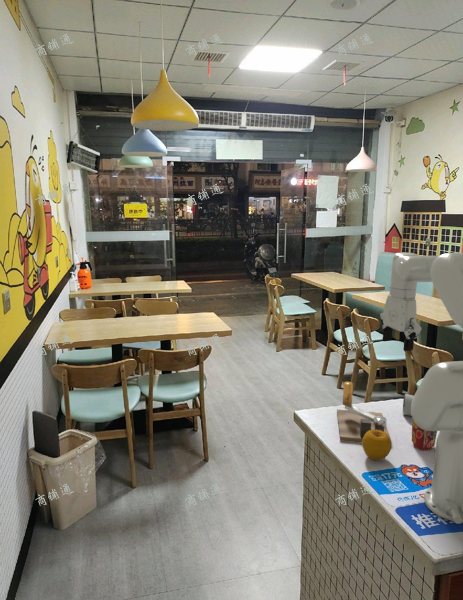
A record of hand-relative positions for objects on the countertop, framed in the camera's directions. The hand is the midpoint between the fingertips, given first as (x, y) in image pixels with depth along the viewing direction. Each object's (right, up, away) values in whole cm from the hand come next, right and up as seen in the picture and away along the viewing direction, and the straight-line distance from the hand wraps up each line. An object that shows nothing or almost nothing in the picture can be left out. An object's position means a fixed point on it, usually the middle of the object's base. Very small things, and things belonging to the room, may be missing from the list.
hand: (397, 345), depth 137 cm
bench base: (-7, -30, +13) cm, 34 cm away
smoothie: (+9, -33, +2) cm, 34 cm away
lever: (-7, -26, +12) cm, 30 cm away
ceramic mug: (+15, -28, +24) cm, 40 cm away
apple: (-9, -34, -5) cm, 36 cm away
